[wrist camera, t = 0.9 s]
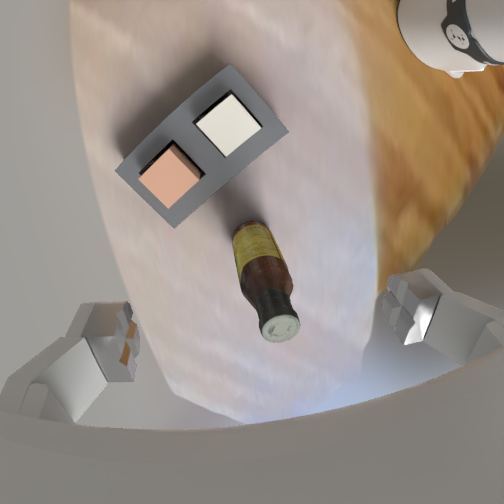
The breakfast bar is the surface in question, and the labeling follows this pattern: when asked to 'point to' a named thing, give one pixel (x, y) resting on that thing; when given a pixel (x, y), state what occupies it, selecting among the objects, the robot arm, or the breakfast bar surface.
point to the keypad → (203, 144)
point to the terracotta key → (170, 176)
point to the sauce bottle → (265, 281)
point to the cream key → (228, 125)
